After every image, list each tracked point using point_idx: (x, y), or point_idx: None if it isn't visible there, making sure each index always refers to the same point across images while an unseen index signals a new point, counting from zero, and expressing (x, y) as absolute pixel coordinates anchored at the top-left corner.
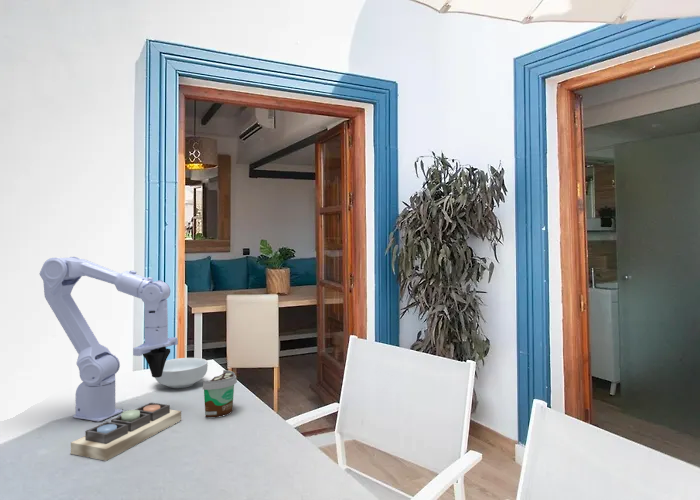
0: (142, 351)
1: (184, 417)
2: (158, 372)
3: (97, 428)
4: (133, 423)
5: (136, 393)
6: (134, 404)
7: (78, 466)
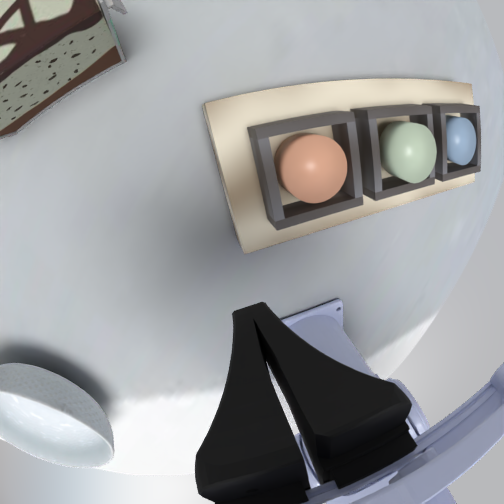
0: (482, 411)
1: (171, 125)
2: (277, 318)
3: (470, 158)
4: (422, 105)
5: (161, 409)
6: (206, 357)
7: None
